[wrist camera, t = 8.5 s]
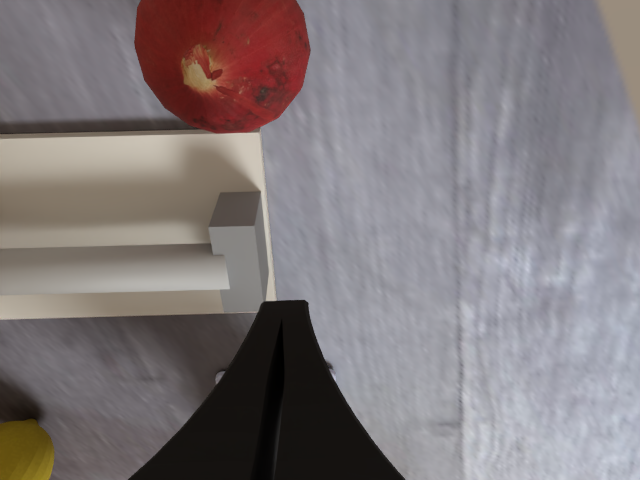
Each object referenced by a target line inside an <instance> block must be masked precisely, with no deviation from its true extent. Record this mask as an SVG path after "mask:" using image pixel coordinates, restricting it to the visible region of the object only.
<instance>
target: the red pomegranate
mask: <svg viewBox="0 0 640 480" xmlns="http://www.w3.org/2000/svg"><path fill="white" fill-rule="evenodd" d="M134 44H135V49H136V53H137V56H138V60H139V63H140V66H141V70H142V73H143V77H144V80H145V82H146V83H147V84H148V86H149V87H150V88H151V90H152V91H153V93H154V94H155V95H156V97H157V98H158V99H159V101H160V102H161V104H162V105H163V106H164V108H166V109H167V110H169V111H170V112H171V113H173V114H174V115H176V116H177V117H178V118H180V119H181V120H183V121H184V122H185V123H187V124H188V125H190V126H193V127H196V128H200V129H203V130H206V131H209V132H213V133H216V134H226V133H247V132H251V131H253V130H255V129H257V128H259V127H261V126H263V125H265V124H267V123H269V122H271V121H273V120H275V119H277V118H279V117H280V115H281V114H282V113H283V112H284V110H285V109H286V108H287V107H288V105H289V104H290V103H291V102H292V100H293V99H294V98H295V96H296V95H297V94H298V93H299V91H300V90H301V88H302V86H303V82H304V78H305V73H306V69H307V64H308V60H309V55H310V51H311V50H310V45H309V39H308V34H307V29H306V23H305V18H304V13H303V12H302V10H301V8H300V6H299V5H298V3H297V1H296V0H141V1H140V3H139V5H138V7H137V17H136V29H135V41H134Z"/></svg>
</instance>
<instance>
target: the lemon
mask: <svg viewBox="0 0 640 480" xmlns="http://www.w3.org/2000/svg"><path fill="white" fill-rule="evenodd" d="M53 463H54V446H53V443H52V440H51V438H50V436H49V435H48V433H47V432H46V431H45V430H44V429H43V428H41V427H40V426H39V425H38V423H37V421H36V420H35V419H27V420H24V421H9V422H5V423H1V424H0V480H49V477H50V475H51V472H52V468H53Z"/></svg>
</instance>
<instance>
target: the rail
mask: <svg viewBox="0 0 640 480" xmlns="http://www.w3.org/2000/svg"><path fill="white" fill-rule="evenodd" d="M264 301H277V298H276V287H275V276H274V266H273V255H272V245H271V234H270V223H269V213H268V202H267V192H266V181H265V170H264V160H263V149H262V138H261V128H257V129H255V130H253V131H251V132H247V133H226V134H216V133H213V132H209V131H206V130H203V129H198V130H157V131H116V132H75V133H34V134H0V319H37V318H74V317H111V316H148V315H185V314H222V313H258V311H259V308H260V305H261V303H263V302H264Z"/></svg>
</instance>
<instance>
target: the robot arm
mask: <svg viewBox="0 0 640 480" xmlns="http://www.w3.org/2000/svg"><path fill="white" fill-rule="evenodd" d="M215 381H216V386H215V387H214V389H213V390H212V392H211V393H210V394H209V395H208V397H207V398H206V399H205V401H204V402H203V403H202V404H201V406H200V407H199V408H198V409H197V410H196V412H195V413H194V414H193V415H192V416H191V418H190V419H189V420H188V421H187V422H186V423H185V424H184V426H183V427H182V428H181V429H180V430H179V431H178V432H177V433H176V434H175V435H174V436H173V437H172V438H171V439H170V440H169V441H168V442H167V443H166V444H165V445H164V446H163V447H162V448H161V449H160V450H159V451H158V452H157V453H156V455H155V456H153V457H152V458H151V459H150V460H149V461H148V462H147V463H146V464H145V465H144V466H143V467H141V468H140V469H139V470H138V471H137V472H136V473H135V474H134V475H132V476H131V477H130V478H129V479H128V480H405V479H404V477H403V476H402V475H401V474H400V473H399V472H398V471H397V470H396V468H395V467H394V466H393V465H392V464H391V463H390V461H389V460H388V459H387V458H386V457H385V455H384V454H383V453H382V452H381V450H380V449H379V448H378V446H377V445H376V444H375V443H374V441H373V440H372V439H371V437H370V436H369V434H368V433H367V432H366V430H365V429H364V427H363V426H362V424H361V423H360V422H359V420H358V419H357V417H356V416H355V414H354V413H353V411H352V410H351V408H350V406H349V405H348V403H347V402H346V400H345V398H344V396H343V395H342V393H341V391H340V389H339V388H338V386H337V384H336V373H335V371H334V370H332V369H329V368H328V366H327V364H326V361H325V359H324V357H323V354H322V352H321V349H320V347H319V344H318V342H317V339H316V336H315V333H314V330H313V327H312V323H311V319H310V315H309V307H308V302H306V301H305V300H286V301H264V302H263V303H261V305H260V308H259V311H258V313H257V315H256V318H255V320H254V322H253V324H252V326H251V328H250V330H249V332H248V334H247V336H246V338H245V340H244V342H243V343H242V345H241V347H240V349H239V351H238V352H237V354H236V356H235V357H234V359H233V360H232V362H231V364H230V365H229V367H228V368H227V370H226V371H223V372H219V373H217V375H216V378H215Z"/></svg>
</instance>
